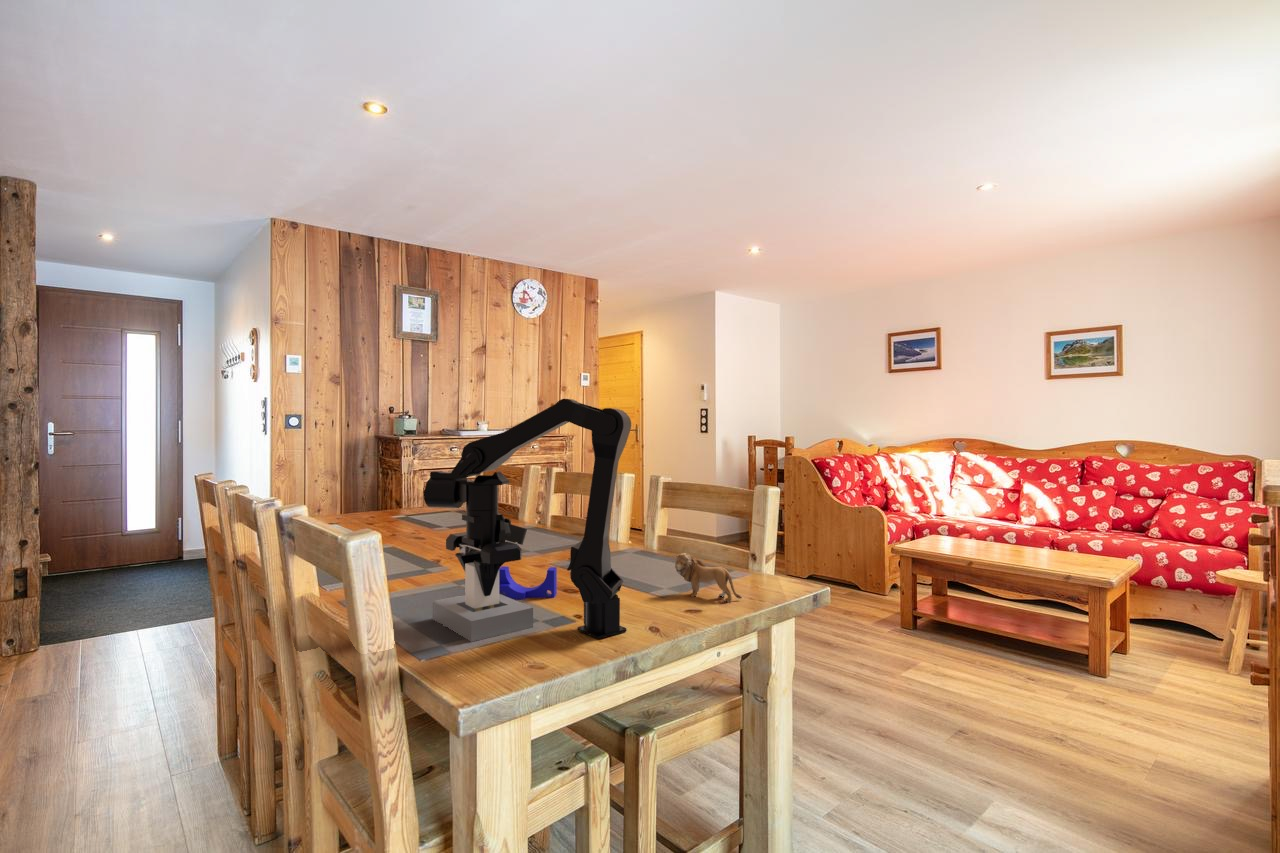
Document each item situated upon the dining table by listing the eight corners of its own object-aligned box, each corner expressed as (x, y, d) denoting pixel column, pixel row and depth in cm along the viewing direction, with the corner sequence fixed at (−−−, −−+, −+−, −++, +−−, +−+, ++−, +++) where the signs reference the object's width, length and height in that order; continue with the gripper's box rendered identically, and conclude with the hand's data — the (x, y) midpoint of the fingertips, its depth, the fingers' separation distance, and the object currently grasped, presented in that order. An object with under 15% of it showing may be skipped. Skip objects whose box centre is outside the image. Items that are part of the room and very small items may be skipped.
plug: (499, 611, 117) (499, 562, 117) (474, 616, 114) (474, 566, 114) (490, 607, 120) (489, 559, 120) (465, 612, 116) (465, 563, 116)
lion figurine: (671, 596, 135) (671, 554, 135) (678, 590, 140) (679, 550, 140) (739, 604, 130) (739, 560, 130) (744, 597, 135) (744, 555, 135)
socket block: (532, 627, 115) (533, 606, 115) (471, 641, 107) (471, 619, 107) (490, 607, 127) (490, 588, 127) (432, 619, 119) (432, 599, 119)
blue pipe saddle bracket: (496, 599, 133) (496, 571, 133) (501, 594, 138) (501, 566, 138) (552, 600, 133) (552, 572, 132) (556, 594, 137) (556, 567, 137)
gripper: (547, 510, 115) (547, 596, 115) (496, 500, 129) (497, 577, 129) (491, 516, 108) (491, 607, 108) (444, 505, 122) (444, 586, 122)
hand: (482, 593), depth 117 cm, fingers closed on plug, 4 cm apart
